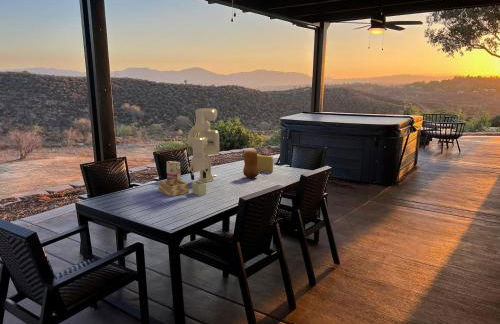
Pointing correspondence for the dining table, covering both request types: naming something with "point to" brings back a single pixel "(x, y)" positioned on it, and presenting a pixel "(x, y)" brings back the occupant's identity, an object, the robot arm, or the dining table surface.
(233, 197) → the dining table surface
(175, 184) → the wicker basket
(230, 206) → the dining table surface
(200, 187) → the small crate
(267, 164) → the cheese
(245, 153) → the butternut squash
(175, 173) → the candy bar box
